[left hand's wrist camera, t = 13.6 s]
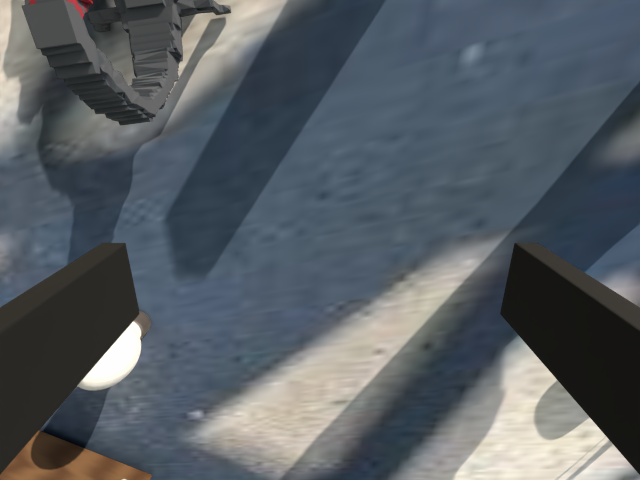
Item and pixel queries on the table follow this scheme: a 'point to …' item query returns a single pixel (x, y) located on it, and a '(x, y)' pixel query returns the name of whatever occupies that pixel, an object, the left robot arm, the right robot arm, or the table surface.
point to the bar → (65, 463)
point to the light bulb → (118, 357)
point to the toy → (94, 67)
